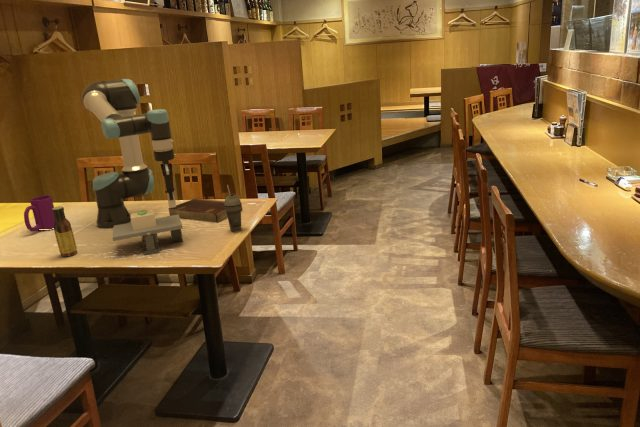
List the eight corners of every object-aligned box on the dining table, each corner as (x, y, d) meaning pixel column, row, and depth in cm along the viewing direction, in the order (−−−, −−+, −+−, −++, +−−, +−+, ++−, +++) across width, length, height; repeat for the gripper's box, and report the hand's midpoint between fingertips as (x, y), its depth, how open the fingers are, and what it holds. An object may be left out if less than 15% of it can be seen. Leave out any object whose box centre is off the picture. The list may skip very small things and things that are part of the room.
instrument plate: (113, 243, 195) (109, 223, 193) (114, 230, 210) (110, 212, 207) (183, 230, 203) (179, 211, 200) (179, 219, 218) (176, 201, 215)
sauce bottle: (64, 252, 207) (53, 205, 201) (80, 250, 208) (69, 204, 202) (57, 258, 201) (46, 210, 195) (74, 257, 201) (62, 208, 195)
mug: (63, 225, 244) (56, 195, 240) (37, 236, 230) (29, 204, 226) (48, 224, 247) (40, 195, 242) (21, 236, 233) (13, 204, 228)
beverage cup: (241, 233, 214) (235, 186, 208) (224, 233, 216) (218, 187, 210) (246, 227, 221) (241, 182, 215) (231, 227, 222) (225, 182, 216)
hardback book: (242, 211, 246) (241, 201, 244) (217, 223, 230) (216, 213, 229) (196, 207, 260) (195, 197, 258) (170, 218, 244) (168, 208, 243)
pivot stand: (144, 255, 197) (140, 238, 195) (142, 238, 217) (139, 222, 215) (184, 247, 202) (182, 231, 200) (179, 231, 222) (177, 216, 220)
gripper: (174, 151, 195) (183, 209, 203) (171, 146, 207) (180, 201, 214) (154, 153, 193) (164, 212, 200) (152, 148, 205) (162, 204, 212)
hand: (172, 207), depth 207 cm, fingers closed
